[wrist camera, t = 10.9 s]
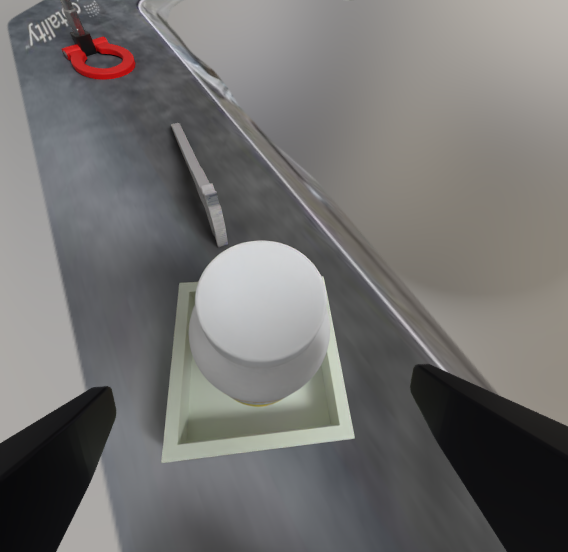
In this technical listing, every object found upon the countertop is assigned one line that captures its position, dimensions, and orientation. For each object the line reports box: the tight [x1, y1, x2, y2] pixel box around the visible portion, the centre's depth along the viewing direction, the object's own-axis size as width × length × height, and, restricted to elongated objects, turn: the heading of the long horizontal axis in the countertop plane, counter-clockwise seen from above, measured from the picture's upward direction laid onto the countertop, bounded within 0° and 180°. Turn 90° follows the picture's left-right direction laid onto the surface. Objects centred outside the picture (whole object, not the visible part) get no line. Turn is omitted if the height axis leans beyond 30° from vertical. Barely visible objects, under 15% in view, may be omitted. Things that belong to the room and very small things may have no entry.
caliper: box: [171, 123, 228, 247], centre depth 27 cm, size 20×1×6 cm, turn 24°
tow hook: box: [60, 0, 135, 79], centre depth 34 cm, size 8×13×9 cm
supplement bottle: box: [189, 241, 330, 407], centre depth 15 cm, size 7×7×13 cm
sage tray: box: [161, 277, 355, 463], centre depth 20 cm, size 12×12×3 cm
